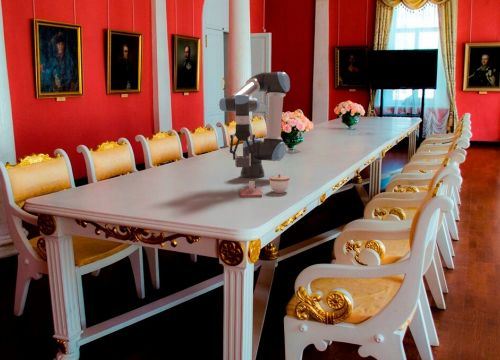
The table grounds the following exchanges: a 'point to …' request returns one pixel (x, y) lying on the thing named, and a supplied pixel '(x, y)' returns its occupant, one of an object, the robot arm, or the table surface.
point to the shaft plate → (249, 194)
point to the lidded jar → (279, 183)
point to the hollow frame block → (242, 161)
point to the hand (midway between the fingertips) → (243, 165)
